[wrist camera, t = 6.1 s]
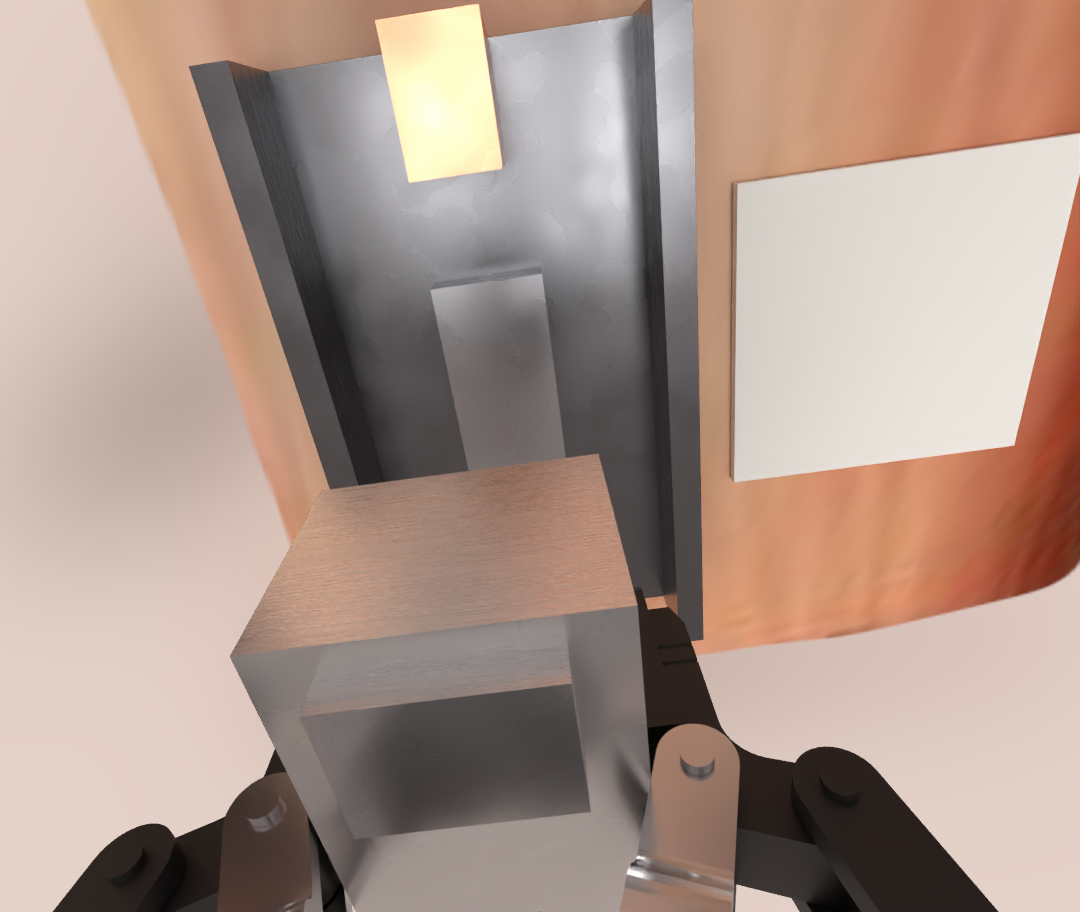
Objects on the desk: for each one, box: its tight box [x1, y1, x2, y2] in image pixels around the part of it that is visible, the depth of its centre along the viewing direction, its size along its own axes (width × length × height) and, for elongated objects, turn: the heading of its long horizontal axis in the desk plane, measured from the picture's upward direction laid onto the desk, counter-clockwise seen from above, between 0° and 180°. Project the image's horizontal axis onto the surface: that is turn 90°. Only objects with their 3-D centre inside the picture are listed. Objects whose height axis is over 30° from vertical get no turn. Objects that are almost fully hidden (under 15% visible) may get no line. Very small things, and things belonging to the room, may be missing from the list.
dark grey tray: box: [189, 0, 703, 641], centre depth 26 cm, size 26×15×8 cm, turn 8°
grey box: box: [230, 454, 651, 912], centre depth 11 cm, size 9×5×5 cm, turn 8°
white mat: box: [731, 132, 1080, 482], centre depth 28 cm, size 14×14×1 cm
